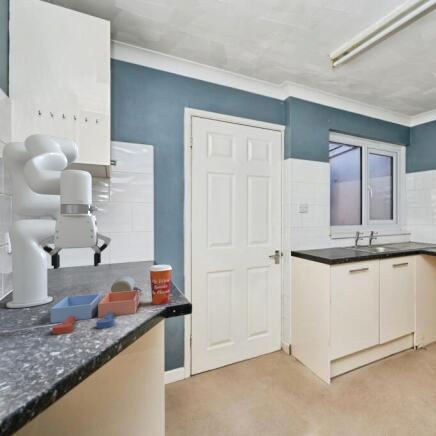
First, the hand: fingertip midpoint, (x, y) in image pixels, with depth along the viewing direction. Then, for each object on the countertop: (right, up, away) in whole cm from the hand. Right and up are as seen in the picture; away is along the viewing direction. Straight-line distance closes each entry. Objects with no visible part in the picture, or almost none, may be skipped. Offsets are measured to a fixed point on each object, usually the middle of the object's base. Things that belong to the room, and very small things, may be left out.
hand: (77, 267), depth 95 cm
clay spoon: (-1, -17, -3) cm, 18 cm away
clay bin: (+3, -17, +16) cm, 23 cm away
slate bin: (-8, -17, +10) cm, 22 cm away
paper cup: (+13, -18, +24) cm, 32 cm away
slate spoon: (+8, -17, +1) cm, 19 cm away
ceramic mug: (-7, -17, +34) cm, 39 cm away
